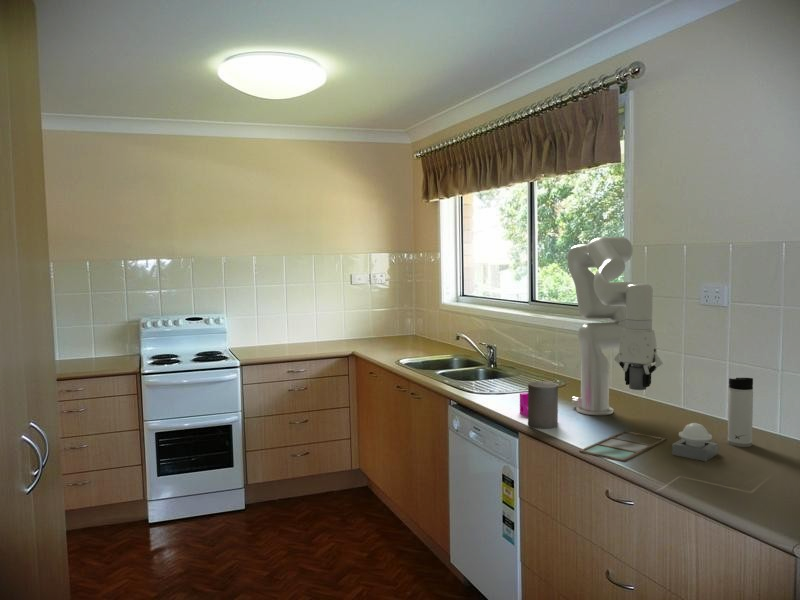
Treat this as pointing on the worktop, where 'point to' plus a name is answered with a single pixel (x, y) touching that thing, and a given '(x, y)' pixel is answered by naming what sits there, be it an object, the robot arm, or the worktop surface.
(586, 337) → the robot arm
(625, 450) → the brown flat rectangular frame
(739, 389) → the travel mug
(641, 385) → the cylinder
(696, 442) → the dome
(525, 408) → the toy block
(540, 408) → the pillar candle
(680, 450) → the collar
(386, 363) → the worktop surface
